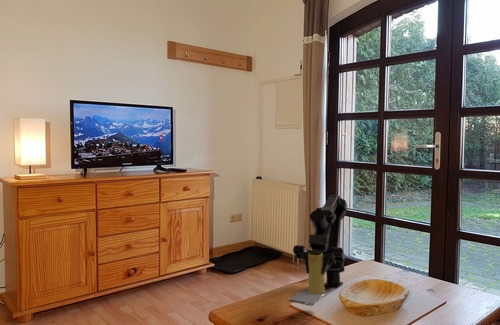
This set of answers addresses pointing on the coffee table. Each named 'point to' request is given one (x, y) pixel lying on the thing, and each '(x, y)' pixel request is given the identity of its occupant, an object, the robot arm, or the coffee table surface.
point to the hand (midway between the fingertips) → (315, 273)
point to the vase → (316, 273)
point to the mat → (306, 297)
